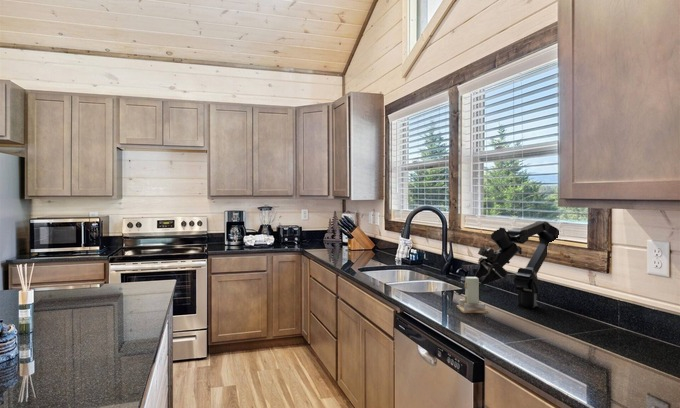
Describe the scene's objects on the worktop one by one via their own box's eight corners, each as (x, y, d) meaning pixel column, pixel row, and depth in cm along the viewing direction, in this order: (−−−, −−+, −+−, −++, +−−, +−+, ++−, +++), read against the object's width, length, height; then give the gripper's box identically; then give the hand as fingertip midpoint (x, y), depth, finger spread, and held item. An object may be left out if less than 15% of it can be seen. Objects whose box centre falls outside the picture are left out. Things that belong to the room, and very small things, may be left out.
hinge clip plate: (480, 306, 182) (480, 299, 182) (487, 312, 173) (488, 304, 173) (456, 306, 182) (456, 299, 182) (462, 312, 173) (463, 304, 173)
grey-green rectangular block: (475, 306, 179) (476, 276, 179) (478, 309, 176) (478, 278, 175) (463, 306, 179) (463, 276, 179) (465, 308, 176) (466, 278, 175)
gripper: (483, 238, 186) (457, 264, 187) (499, 243, 168) (470, 271, 168) (501, 256, 187) (475, 282, 187) (519, 263, 168) (490, 292, 168)
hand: (477, 281), depth 177 cm, fingers open, 9 cm apart
